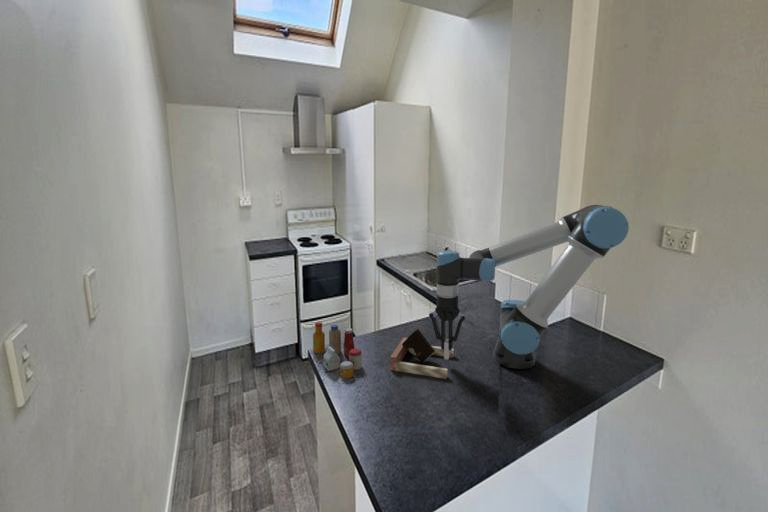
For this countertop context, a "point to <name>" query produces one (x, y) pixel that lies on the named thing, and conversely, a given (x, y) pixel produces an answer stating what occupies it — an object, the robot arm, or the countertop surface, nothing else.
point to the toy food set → (337, 350)
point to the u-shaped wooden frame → (417, 368)
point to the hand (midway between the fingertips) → (446, 357)
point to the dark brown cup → (418, 346)
